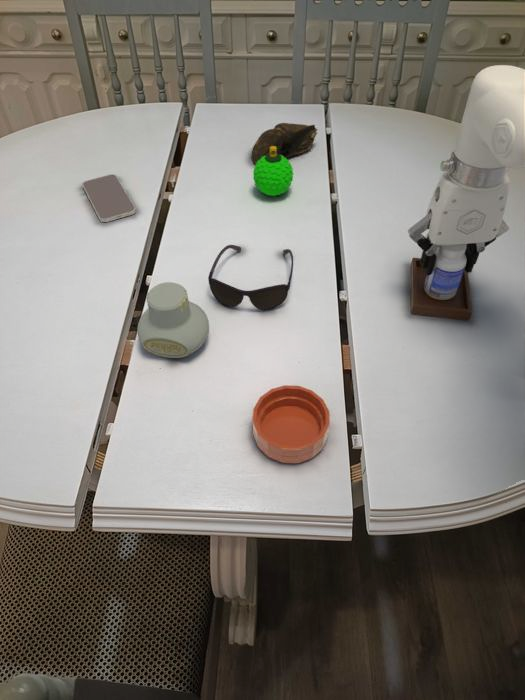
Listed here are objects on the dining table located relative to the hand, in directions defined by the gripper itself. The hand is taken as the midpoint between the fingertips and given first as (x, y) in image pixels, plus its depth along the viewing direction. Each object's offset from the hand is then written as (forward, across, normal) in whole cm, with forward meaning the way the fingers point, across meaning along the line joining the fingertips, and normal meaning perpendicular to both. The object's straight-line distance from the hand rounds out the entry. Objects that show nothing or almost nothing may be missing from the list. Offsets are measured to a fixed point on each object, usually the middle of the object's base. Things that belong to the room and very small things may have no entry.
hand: (446, 267), depth 86 cm
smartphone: (+5, -59, +34) cm, 68 cm away
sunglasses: (+6, -31, +6) cm, 32 cm away
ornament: (+6, -25, +33) cm, 42 cm away
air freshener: (+6, -44, -7) cm, 45 cm away
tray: (+5, 0, 0) cm, 5 cm away
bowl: (+5, -28, -25) cm, 38 cm away
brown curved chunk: (+6, -21, +49) cm, 54 cm away
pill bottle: (+5, 0, 0) cm, 5 cm away
